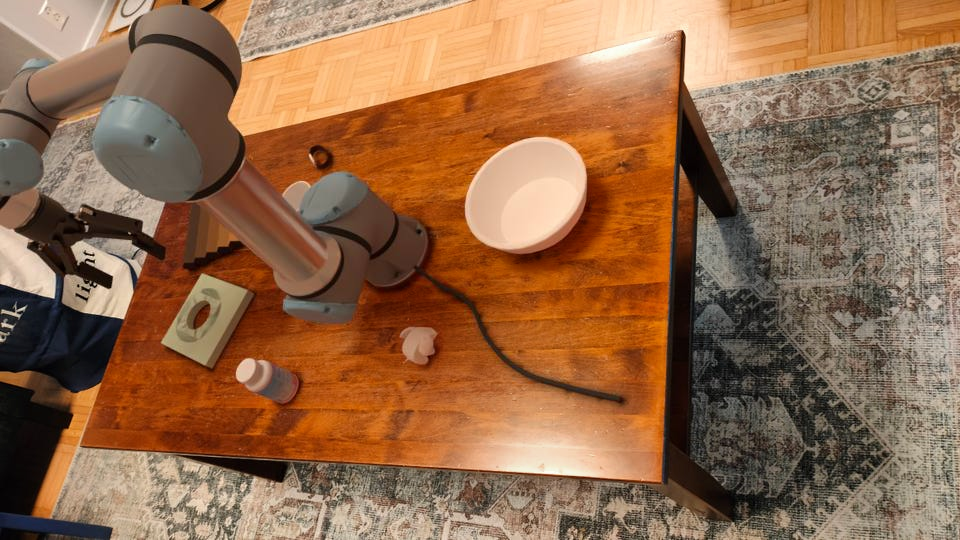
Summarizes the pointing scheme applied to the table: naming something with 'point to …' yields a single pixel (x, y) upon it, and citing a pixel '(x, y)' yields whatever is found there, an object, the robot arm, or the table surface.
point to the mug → (296, 194)
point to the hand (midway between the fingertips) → (137, 268)
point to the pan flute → (206, 239)
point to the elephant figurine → (418, 343)
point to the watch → (312, 151)
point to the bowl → (527, 195)
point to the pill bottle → (267, 380)
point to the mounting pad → (217, 328)
